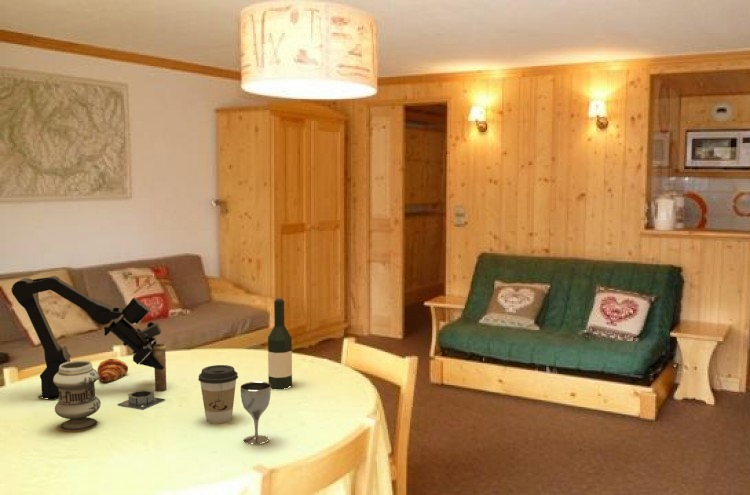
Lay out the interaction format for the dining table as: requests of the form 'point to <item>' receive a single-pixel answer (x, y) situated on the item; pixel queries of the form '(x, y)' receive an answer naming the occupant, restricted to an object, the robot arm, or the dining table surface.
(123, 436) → the dining table surface
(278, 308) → the wine bottle
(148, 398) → the cup bracket
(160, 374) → the tall ribbed vase
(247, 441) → the wine glass
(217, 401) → the coffee cup
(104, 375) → the croissant
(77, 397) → the apothecary jar
